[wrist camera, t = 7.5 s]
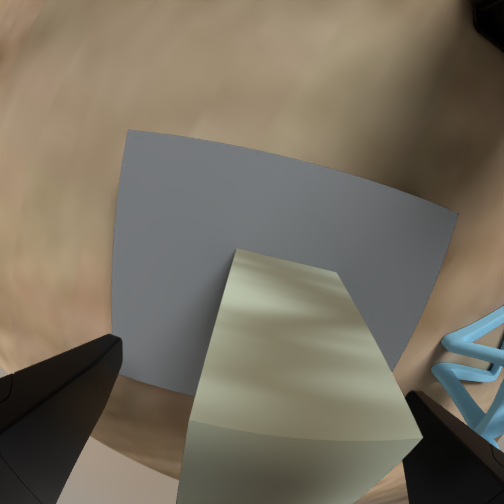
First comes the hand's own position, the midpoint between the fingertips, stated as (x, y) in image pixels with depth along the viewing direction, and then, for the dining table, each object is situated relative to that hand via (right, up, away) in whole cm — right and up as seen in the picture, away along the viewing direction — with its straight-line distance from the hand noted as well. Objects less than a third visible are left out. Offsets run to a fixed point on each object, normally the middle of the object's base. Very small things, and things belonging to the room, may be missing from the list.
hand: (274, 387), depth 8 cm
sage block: (0, +1, +4) cm, 5 cm away
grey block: (0, +3, +8) cm, 8 cm away
